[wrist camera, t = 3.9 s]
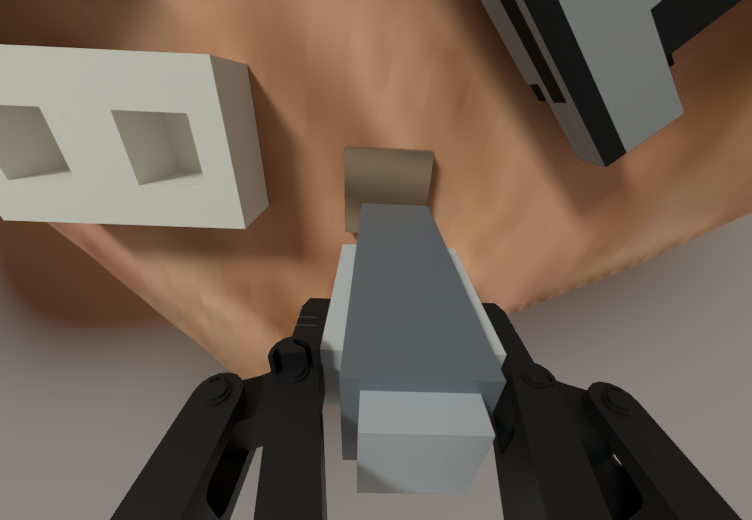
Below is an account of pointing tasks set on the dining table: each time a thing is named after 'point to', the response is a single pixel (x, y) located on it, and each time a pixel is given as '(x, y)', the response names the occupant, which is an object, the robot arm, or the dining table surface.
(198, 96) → the socket block
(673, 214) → the dining table surface
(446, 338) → the plug
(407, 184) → the plate
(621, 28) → the office tray
